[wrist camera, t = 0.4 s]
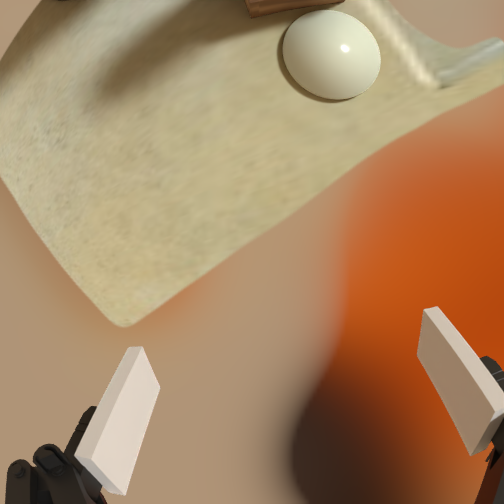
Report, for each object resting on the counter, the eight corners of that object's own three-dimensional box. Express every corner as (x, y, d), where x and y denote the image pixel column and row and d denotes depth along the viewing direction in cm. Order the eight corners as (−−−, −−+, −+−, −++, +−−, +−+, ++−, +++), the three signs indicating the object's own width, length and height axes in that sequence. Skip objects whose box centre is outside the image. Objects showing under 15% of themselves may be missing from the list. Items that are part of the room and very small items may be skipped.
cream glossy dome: (269, 21, 31) (269, 19, 30) (361, 6, 29) (362, 5, 29) (299, 109, 35) (300, 108, 34) (390, 91, 33) (392, 90, 33)
